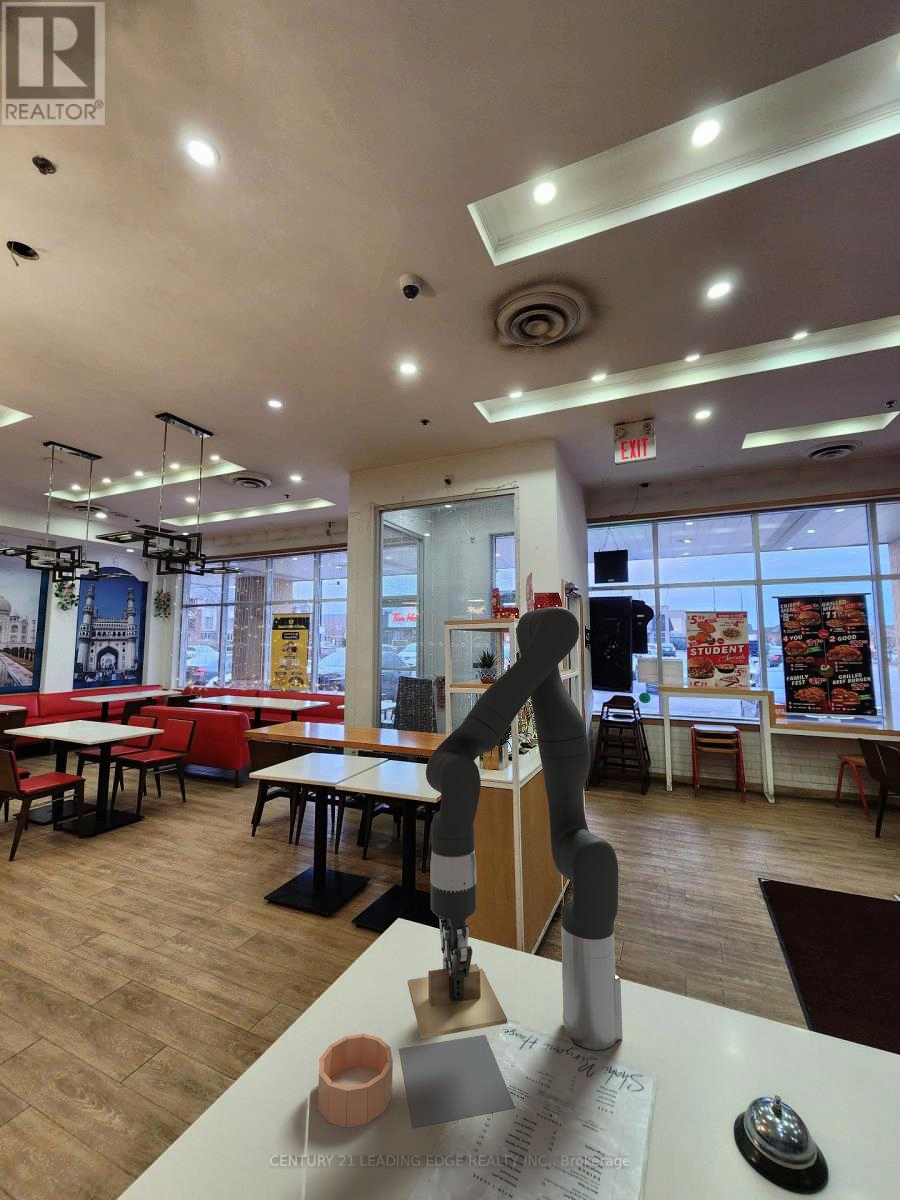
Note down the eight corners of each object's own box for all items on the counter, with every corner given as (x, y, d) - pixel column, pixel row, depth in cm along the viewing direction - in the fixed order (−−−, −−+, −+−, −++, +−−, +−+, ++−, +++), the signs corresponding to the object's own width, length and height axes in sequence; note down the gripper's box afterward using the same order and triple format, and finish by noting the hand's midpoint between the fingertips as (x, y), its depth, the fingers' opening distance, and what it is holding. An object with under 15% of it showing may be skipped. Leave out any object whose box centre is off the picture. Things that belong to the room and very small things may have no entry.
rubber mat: (485, 1037, 88) (485, 1034, 88) (515, 1111, 73) (515, 1107, 73) (398, 1051, 85) (398, 1048, 85) (412, 1132, 70) (412, 1128, 70)
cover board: (482, 972, 88) (481, 943, 89) (507, 1023, 76) (506, 989, 76) (407, 983, 85) (407, 954, 86) (421, 1039, 73) (421, 1004, 73)
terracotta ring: (387, 1063, 82) (387, 1029, 83) (395, 1121, 72) (395, 1082, 72) (318, 1075, 80) (320, 1040, 80) (316, 1136, 69) (318, 1095, 70)
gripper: (488, 894, 77) (490, 1019, 75) (465, 860, 90) (466, 965, 88) (439, 900, 75) (440, 1028, 73) (423, 864, 88) (423, 972, 86)
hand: (454, 993), depth 81 cm, fingers closed on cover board
